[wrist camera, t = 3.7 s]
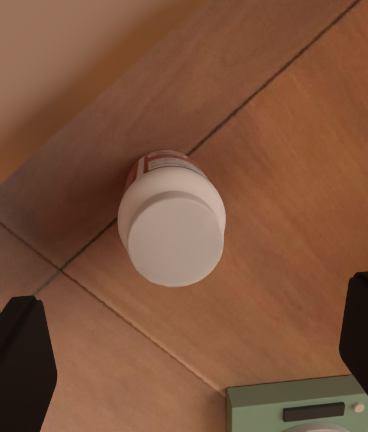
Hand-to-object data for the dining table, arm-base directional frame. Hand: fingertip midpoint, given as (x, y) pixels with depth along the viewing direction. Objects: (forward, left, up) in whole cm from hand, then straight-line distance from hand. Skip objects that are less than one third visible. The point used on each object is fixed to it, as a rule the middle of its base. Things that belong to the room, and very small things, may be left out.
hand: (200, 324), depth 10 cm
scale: (+13, -29, -17) cm, 36 cm away
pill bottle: (0, 0, -17) cm, 17 cm away
